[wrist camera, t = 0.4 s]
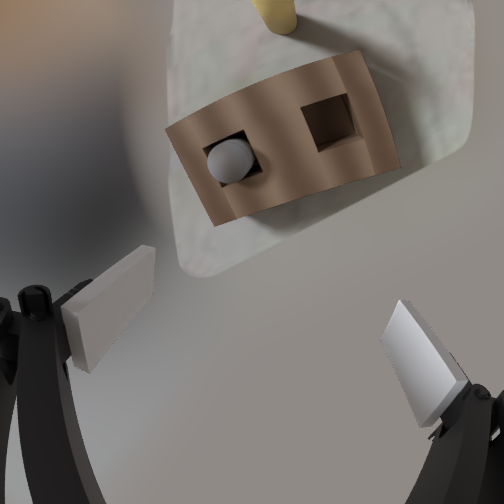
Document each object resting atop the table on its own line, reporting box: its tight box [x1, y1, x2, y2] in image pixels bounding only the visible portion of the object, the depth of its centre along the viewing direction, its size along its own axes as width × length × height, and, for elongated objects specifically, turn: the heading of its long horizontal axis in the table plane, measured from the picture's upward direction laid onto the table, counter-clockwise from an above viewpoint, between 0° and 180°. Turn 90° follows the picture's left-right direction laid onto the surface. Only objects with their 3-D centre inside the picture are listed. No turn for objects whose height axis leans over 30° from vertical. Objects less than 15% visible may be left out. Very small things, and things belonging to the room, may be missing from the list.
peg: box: [251, 0, 297, 34], centre depth 19 cm, size 4×4×15 cm
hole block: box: [165, 50, 401, 227], centre depth 30 cm, size 24×14×9 cm, turn 114°
